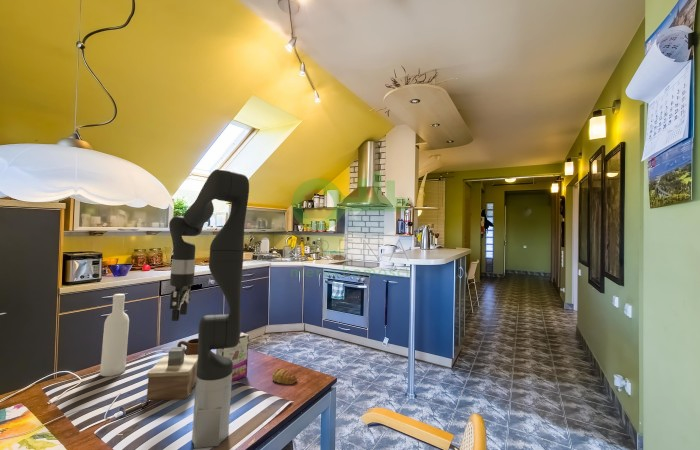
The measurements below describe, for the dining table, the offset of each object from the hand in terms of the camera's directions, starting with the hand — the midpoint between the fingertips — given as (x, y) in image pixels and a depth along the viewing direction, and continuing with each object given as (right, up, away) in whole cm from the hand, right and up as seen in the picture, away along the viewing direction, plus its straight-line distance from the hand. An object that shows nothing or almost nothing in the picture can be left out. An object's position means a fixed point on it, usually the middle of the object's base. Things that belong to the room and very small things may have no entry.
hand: (179, 317), depth 109 cm
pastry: (+35, -28, +11) cm, 46 cm away
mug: (-7, -26, +21) cm, 34 cm away
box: (-1, -25, -1) cm, 25 cm away
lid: (-1, -17, -1) cm, 17 cm away
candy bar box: (+15, -27, +9) cm, 32 cm away
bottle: (-31, -24, +10) cm, 41 cm away
